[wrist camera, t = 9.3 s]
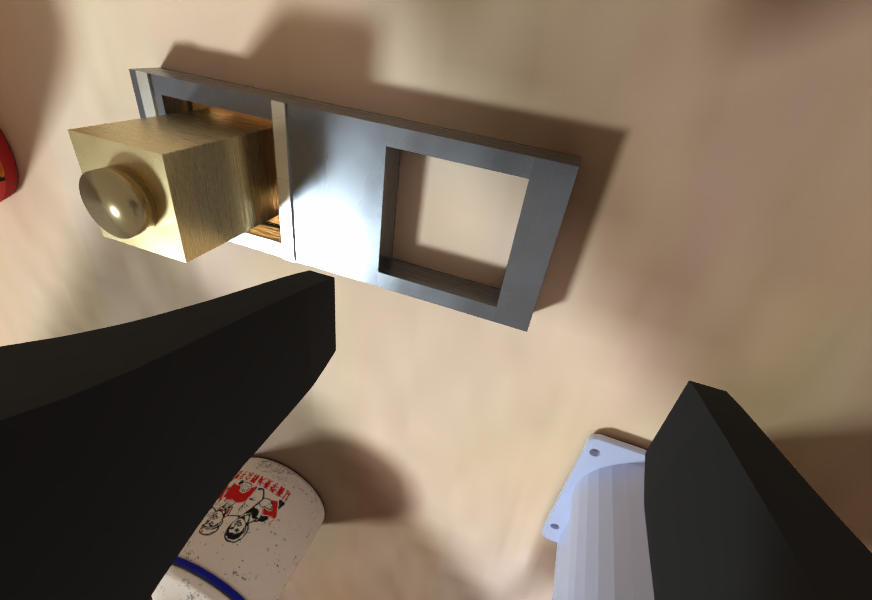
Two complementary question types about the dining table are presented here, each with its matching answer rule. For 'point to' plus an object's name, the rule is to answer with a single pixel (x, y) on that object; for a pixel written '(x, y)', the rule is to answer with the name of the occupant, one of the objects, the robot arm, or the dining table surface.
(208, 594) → the teacup with lid
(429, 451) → the dining table surface
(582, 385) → the dining table surface
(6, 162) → the canned food
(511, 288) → the plate with square holes
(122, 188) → the cube with round knob
